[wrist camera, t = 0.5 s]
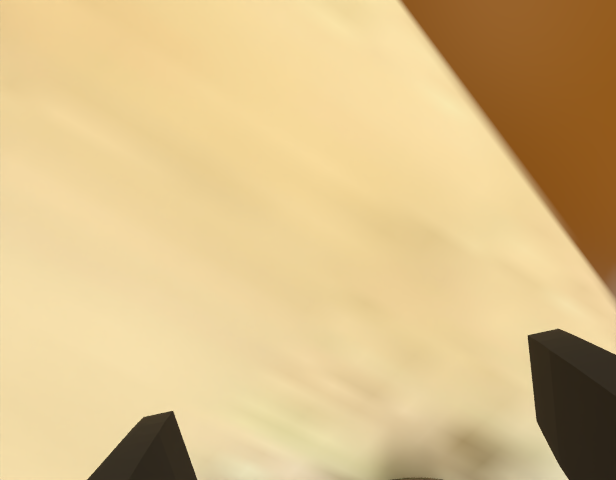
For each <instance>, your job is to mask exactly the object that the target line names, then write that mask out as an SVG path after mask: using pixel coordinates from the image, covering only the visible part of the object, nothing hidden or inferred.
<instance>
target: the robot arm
mask: <svg viewBox="0 0 616 480" xmlns="http://www.w3.org/2000/svg"><path fill="white" fill-rule="evenodd" d="M528 343H529V353H530V362H531V372H532V381H533V391H534V400H535V410H536V419H537V423H538V425H539V427H540V429H541V431H542V433H543V435H544V437H545V439H546V441H547V443H548V445H549V447H550V448H551V450H552V452H553V454H554V456H555V458H556V460H557V462H558V463H559V465H560V467H561V468H562V470H563V471H564V473H565V474H566V476H567V477H568V479H569V480H616V355H615V354H613V353H611V352H609V351H606V350H604V349H602V348H600V347H598V346H596V345H594V344H592V343H589V342H587V341H585V340H583V339H581V338H579V337H577V336H574V335H572V334H570V333H568V332H565V331H563V330H560V329H555V330H551V331H546V332H541V333H537V334H532V335H528ZM87 480H197V478H196V475H195V472H194V469H193V466H192V464H191V461H190V458H189V455H188V452H187V449H186V446H185V444H184V441H183V438H182V435H181V432H180V429H179V427H178V424H177V421H176V418H175V415H174V412H173V411H170V412H166V413H161V414H156V415H151V416H147V417H143V418H142V419H141V420H140V421H139V422H138V423H137V424H136V425H135V427H134V428H133V429H132V430H131V431H130V432H129V433H128V434H127V435H126V437H125V438H124V439H123V440H122V441H121V442H120V443H119V444H118V446H117V447H116V448H115V449H114V450H113V451H112V452H111V454H110V455H109V456H108V457H107V458H106V459H105V460H104V462H103V463H102V464H101V465H100V466H99V467H98V468H97V469H96V470H95V472H94V473H93V474H92V475H91V476H90V477H89V478H88V479H87Z"/></svg>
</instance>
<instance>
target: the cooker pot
mask: <svg viewBox="0 0 616 480" xmlns="http://www.w3.org/2000/svg"><path fill="white" fill-rule="evenodd" d="M394 480H441V479H431V478H403V479H394Z"/></svg>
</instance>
